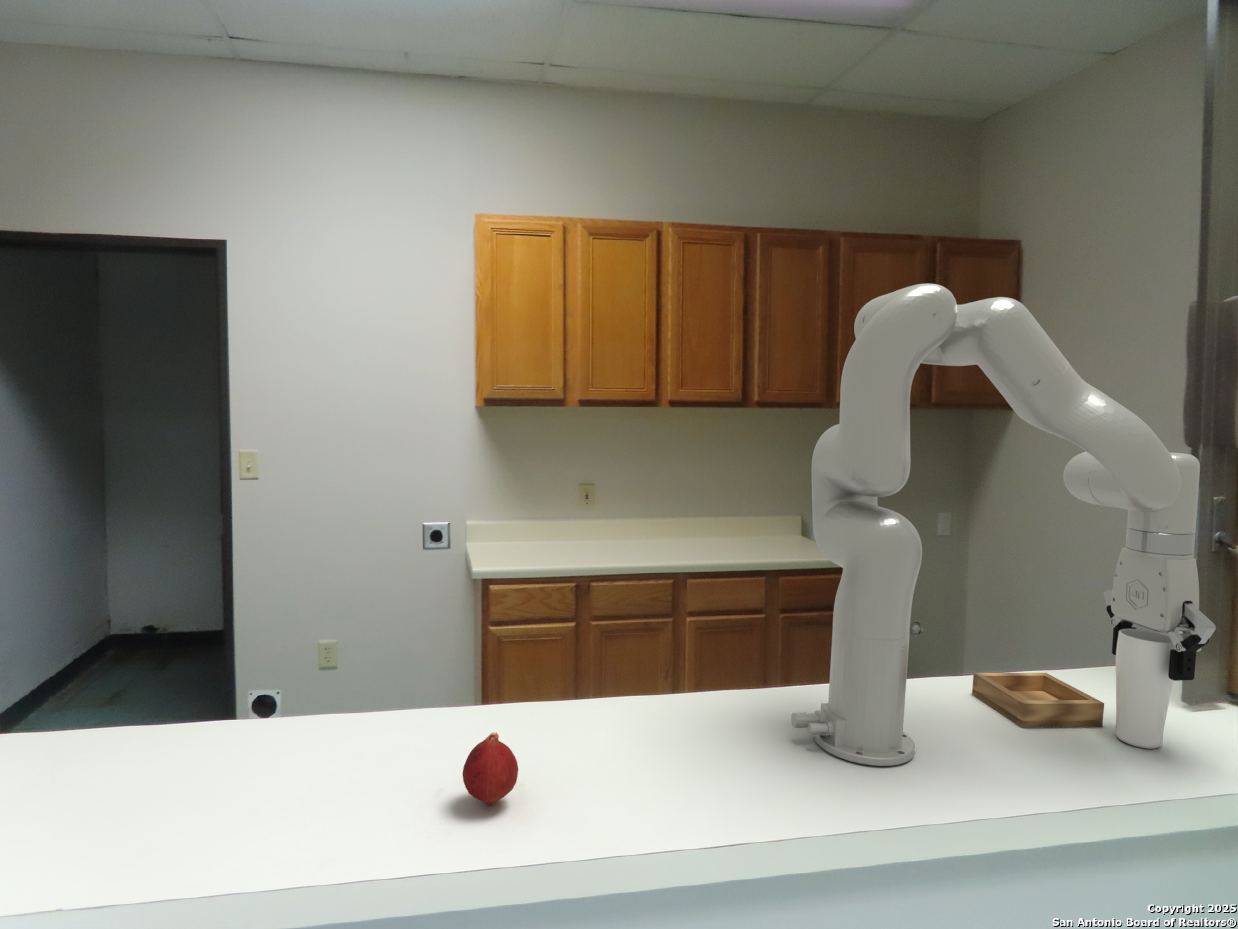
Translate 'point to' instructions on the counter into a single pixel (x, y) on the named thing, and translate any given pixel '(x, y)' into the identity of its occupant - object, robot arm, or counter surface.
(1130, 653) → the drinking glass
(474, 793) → the onion
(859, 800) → the counter surface
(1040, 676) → the tray
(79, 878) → the counter surface
